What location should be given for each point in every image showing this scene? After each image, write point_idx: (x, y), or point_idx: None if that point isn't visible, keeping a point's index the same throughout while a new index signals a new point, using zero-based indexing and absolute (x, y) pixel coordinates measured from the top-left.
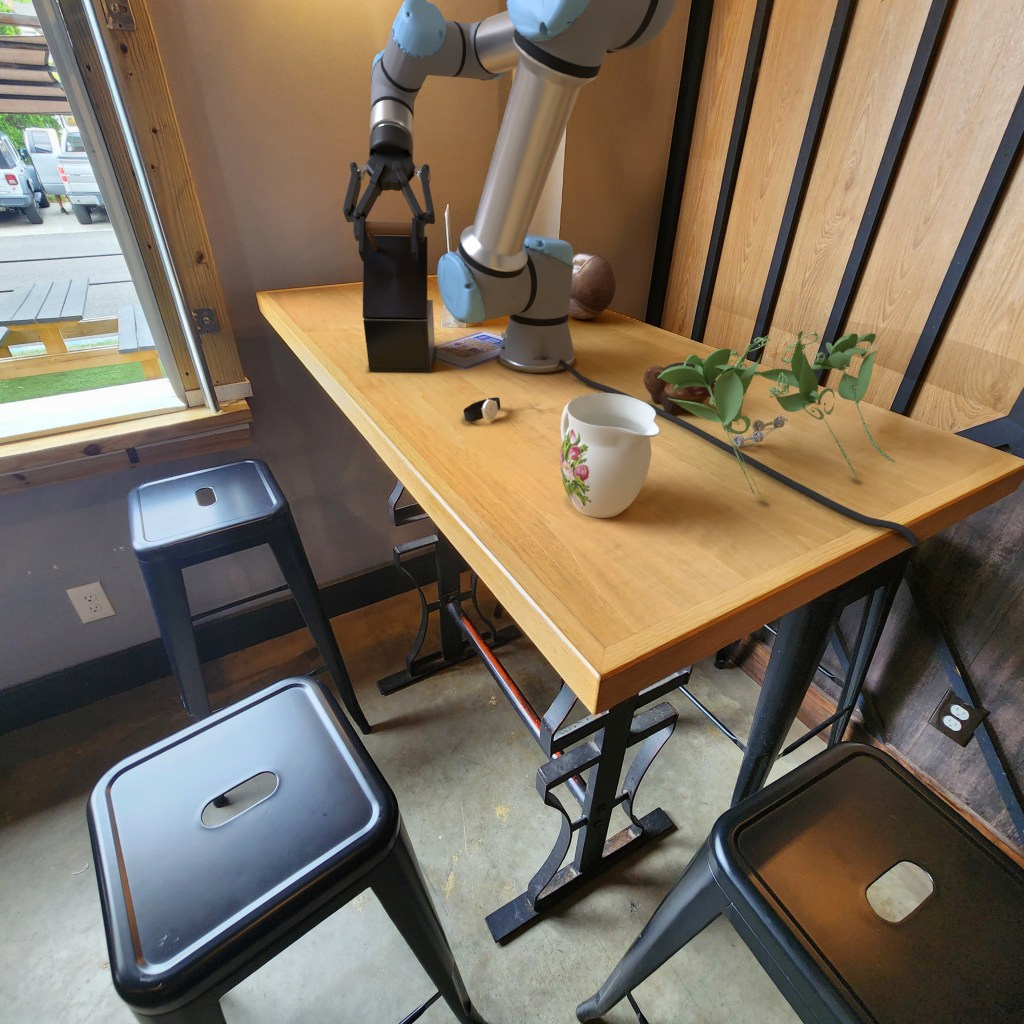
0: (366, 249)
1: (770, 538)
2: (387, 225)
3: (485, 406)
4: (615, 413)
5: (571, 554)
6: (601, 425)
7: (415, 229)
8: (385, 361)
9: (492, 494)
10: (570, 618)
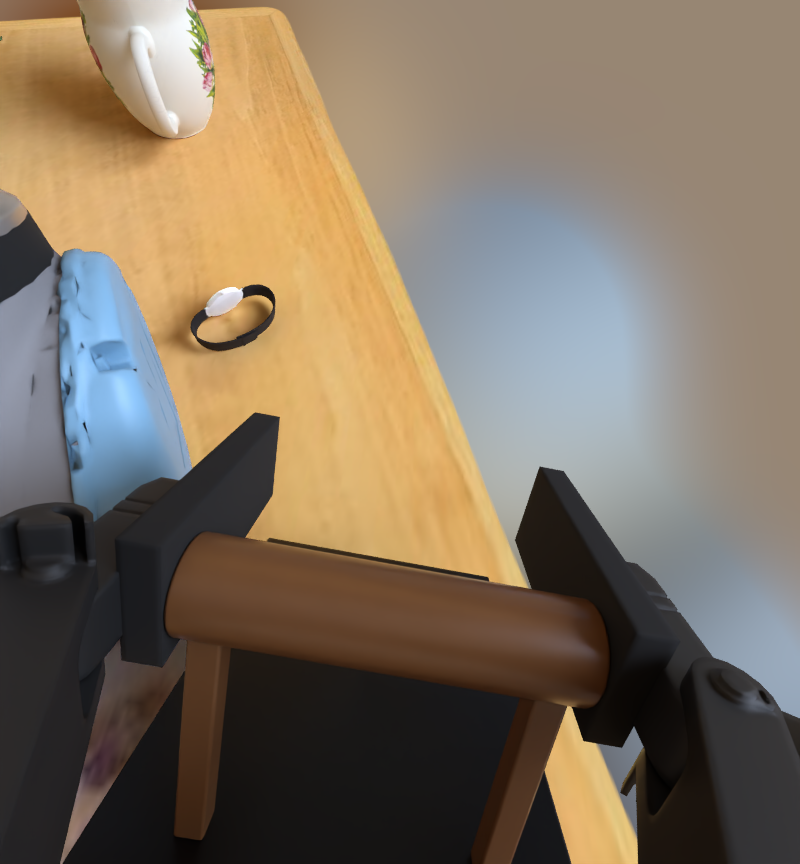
0: (532, 575)
1: (35, 47)
2: (409, 573)
3: (233, 288)
4: (95, 17)
5: (248, 76)
6: (118, 54)
7: (190, 476)
8: None
9: (292, 157)
10: (281, 35)
